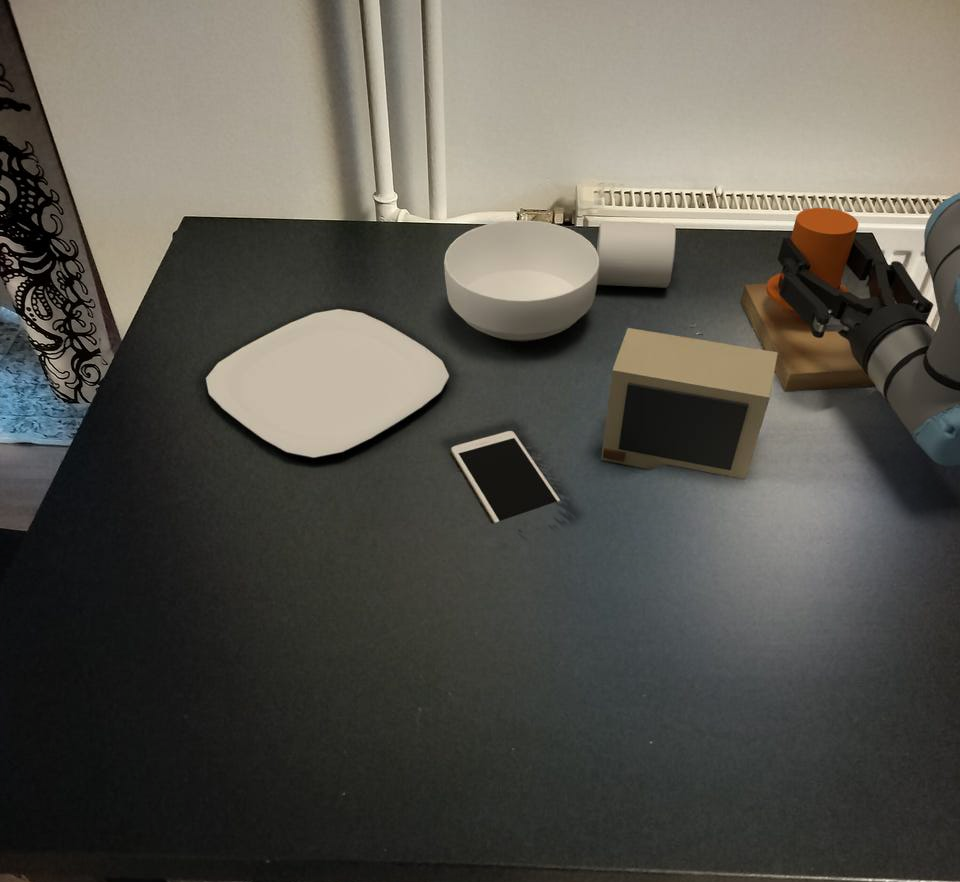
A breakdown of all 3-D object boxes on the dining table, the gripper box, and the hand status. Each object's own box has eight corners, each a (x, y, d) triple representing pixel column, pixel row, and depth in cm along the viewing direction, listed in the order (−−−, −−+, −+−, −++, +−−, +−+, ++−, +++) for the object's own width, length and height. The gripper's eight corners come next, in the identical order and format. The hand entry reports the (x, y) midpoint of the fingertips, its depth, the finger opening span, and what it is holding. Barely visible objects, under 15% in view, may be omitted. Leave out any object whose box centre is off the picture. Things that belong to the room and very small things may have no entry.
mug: (667, 299, 121) (676, 242, 115) (594, 296, 122) (599, 239, 116) (664, 254, 129) (673, 198, 122) (595, 251, 129) (601, 195, 123)
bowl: (623, 316, 119) (631, 255, 112) (526, 381, 110) (528, 320, 104) (514, 263, 127) (516, 205, 121) (416, 321, 119) (411, 260, 112)
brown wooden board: (880, 385, 109) (887, 367, 107) (784, 391, 108) (790, 374, 106) (826, 296, 121) (831, 279, 119) (740, 301, 121) (744, 284, 119)
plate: (185, 388, 110) (181, 376, 109) (342, 306, 121) (340, 295, 120) (312, 485, 99) (310, 473, 98) (473, 385, 110) (473, 373, 108)
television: (751, 442, 103) (777, 352, 93) (742, 489, 98) (769, 399, 88) (615, 417, 106) (627, 327, 96) (600, 461, 101) (611, 371, 91)
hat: (859, 290, 114) (883, 217, 107) (827, 322, 108) (851, 247, 101) (786, 267, 118) (805, 195, 111) (752, 297, 112) (770, 223, 106)
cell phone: (505, 543, 93) (505, 539, 92) (450, 451, 102) (449, 446, 101) (573, 523, 95) (573, 518, 94) (512, 433, 104) (512, 429, 103)
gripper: (801, 392, 98) (729, 281, 112) (970, 372, 100) (878, 266, 114) (822, 331, 92) (743, 223, 106) (1001, 311, 94) (900, 208, 108)
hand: (813, 245), depth 110 cm, fingers closed on hat, 7 cm apart
